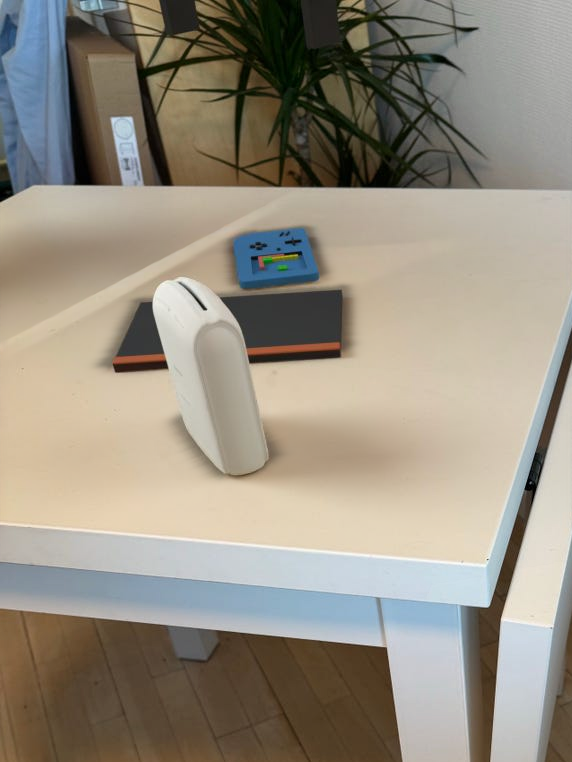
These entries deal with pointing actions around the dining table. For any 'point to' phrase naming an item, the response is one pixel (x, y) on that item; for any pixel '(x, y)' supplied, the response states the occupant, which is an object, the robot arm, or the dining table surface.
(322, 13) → the robot arm
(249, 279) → the handheld gaming device
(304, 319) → the mat
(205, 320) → the photo printer
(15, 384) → the dining table surface
